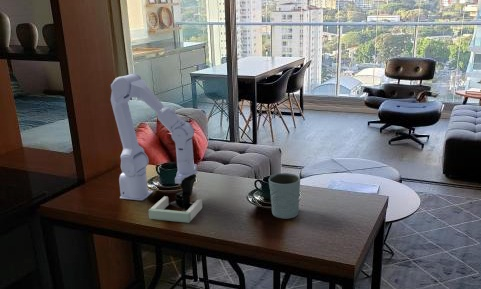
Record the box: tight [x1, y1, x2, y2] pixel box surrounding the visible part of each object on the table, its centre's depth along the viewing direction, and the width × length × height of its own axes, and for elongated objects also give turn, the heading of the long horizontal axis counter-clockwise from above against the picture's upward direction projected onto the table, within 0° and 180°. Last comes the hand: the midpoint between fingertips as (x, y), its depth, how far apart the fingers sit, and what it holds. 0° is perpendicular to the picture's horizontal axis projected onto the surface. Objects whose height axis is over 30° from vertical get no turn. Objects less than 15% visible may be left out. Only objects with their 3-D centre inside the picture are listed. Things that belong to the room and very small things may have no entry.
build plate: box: [169, 190, 195, 212], centre depth 161 cm, size 12×7×5 cm, turn 47°
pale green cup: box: [268, 172, 301, 220], centre depth 150 cm, size 10×10×12 cm
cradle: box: [148, 195, 203, 224], centre depth 154 cm, size 14×12×3 cm
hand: (188, 195), depth 164 cm, fingers closed
